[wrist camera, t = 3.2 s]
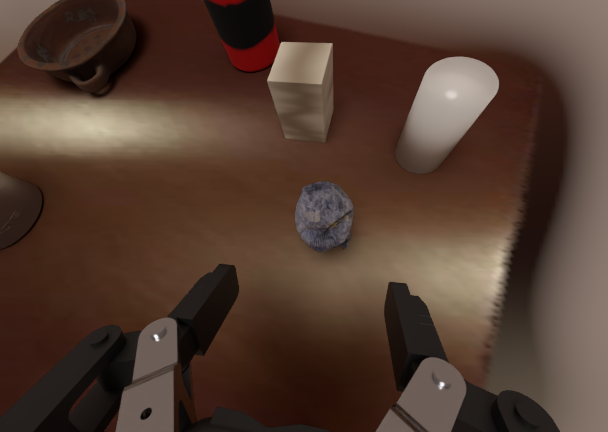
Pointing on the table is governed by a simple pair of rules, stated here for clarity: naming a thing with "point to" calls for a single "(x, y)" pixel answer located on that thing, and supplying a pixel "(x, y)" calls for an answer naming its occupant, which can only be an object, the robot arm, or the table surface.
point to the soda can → (246, 32)
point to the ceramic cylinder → (444, 111)
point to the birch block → (303, 89)
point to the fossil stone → (324, 216)
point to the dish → (79, 41)
